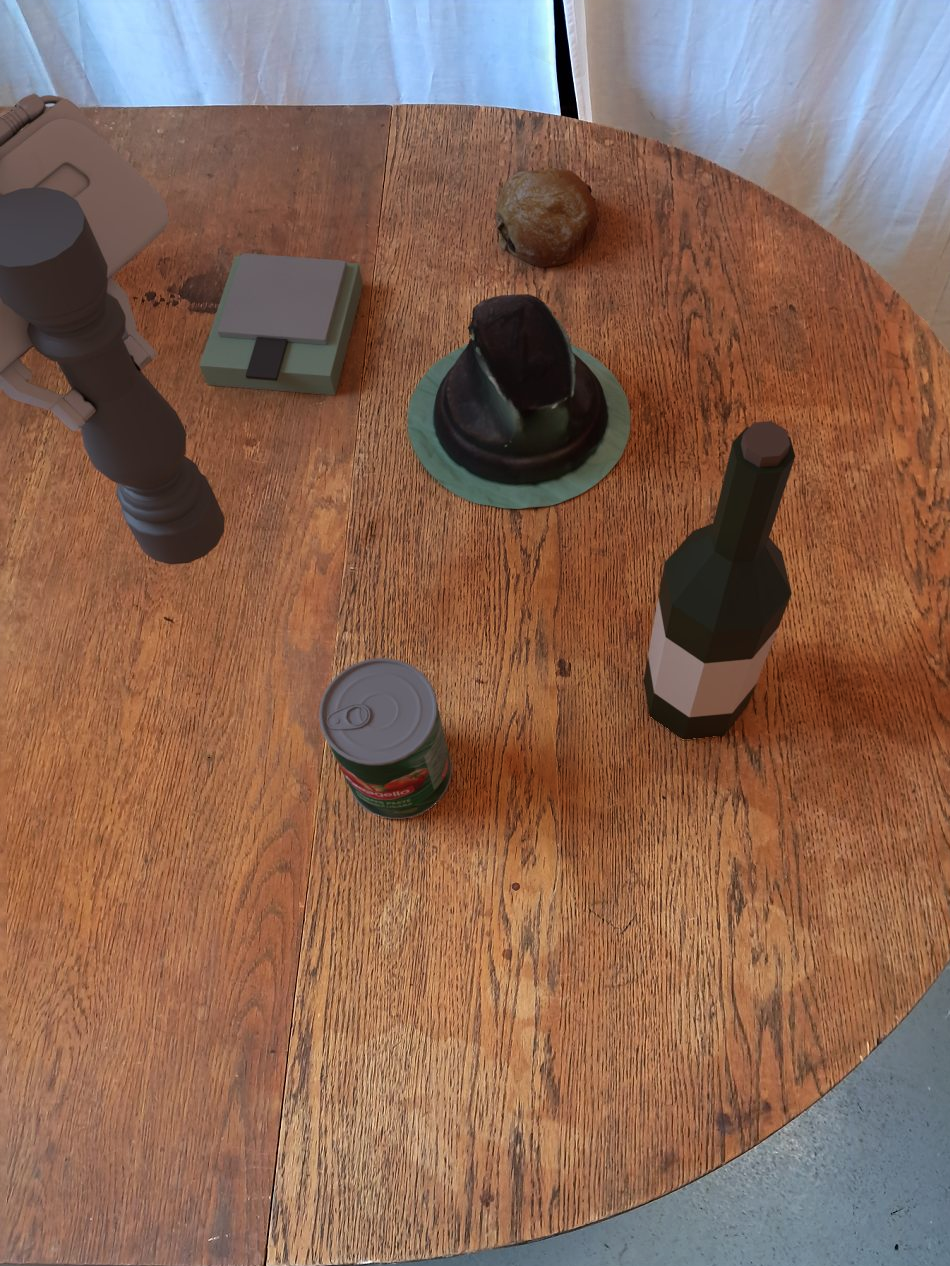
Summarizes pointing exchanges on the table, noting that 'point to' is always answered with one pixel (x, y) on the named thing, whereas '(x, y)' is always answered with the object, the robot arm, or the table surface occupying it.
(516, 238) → the bread roll
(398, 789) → the canned tomato
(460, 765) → the table surface
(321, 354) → the scale
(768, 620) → the wine bottle
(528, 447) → the black hat
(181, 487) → the candle holder
